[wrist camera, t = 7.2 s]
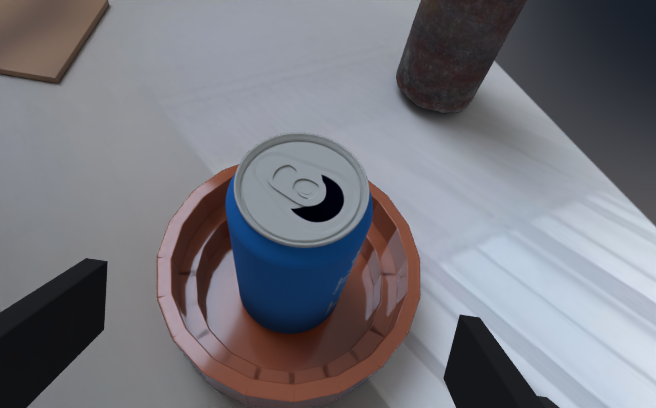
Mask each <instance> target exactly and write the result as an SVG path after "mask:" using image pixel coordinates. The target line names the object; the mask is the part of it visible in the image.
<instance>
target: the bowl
mask: <svg viewBox="0 0 656 408" xmlns="http://www.w3.org/2000/svg"><path fill="white" fill-rule="evenodd" d="M238 166H239V164H238V165H236V166H233V167H230V168H227V169H225V170H222V171H221V172H219V173H218V174H216V175H215V176H214V177H212V178H211V179H209V180H208V181H207V182H205V183H204V184H202V185H201V186H199V187H198V188H197V189H195V190H194V191H193V192H192V193H191V194H190V196H189V197H188V198H187V200H186V201H185V202H184V203H183V205H182V206H181V207H180V208H179V210H178V211H177V212H176V214H175V215H174V216H173V217H172V219H171V220H170V222H169V224H168V227H167V230H166V233H165V236H164V238H163V241H162V244H161V247H160V250H159V252H158V255H157V298H158V299H157V301H158V303H159V306H160V309H161V311H162V314H163V316H164V319H165V322H166V324H167V327H168V330H169V332H170V335H171V337H172V339H173V341H174V342H175V343H176V345H177V346H178V347H179V349H180V350H181V351H182V352H183V354H184V355H185V356H186V358H187V359H188V360H189V361H190V362H191V363H192V365H193V366H194V367H195V368H196V369H197V370H198V371H199V372H200V374H201V375H202V376H203V377H204V378H205V379H206V380H207V381H208V383H209V384H210V385H211V386H212V387H214V389H216V390H218V391H220V392H222V393H224V394H226V395H228V396H230V397H231V398H233V399H235V400H237V401H239V402H241V403H243V404H245V405H247V406H250V407H254V408H313V407H318V406H322V405H327V404H330V403H332V402H334V401H335V400H337V399H339V398H340V397H342V396H343V395H345V394H347V393H348V392H350V391H352V390H353V389H355V388H356V387H358V386H360V385H361V384H363V383H364V382H365V381H366V380H368V379H369V378H370V377H371V376H372V375H373V374H375V373H376V372H377V371H378V370H379V369H380V368H382V366H383V365H384V364H385V363H386V361H387V360H388V359H389V358H390V356H391V355H392V354H393V353H394V351H395V350H396V349H397V348H398V346H399V345H400V344H401V343H402V341H403V340H404V339H405V338H406V336H407V334H408V332H409V329H410V326H411V323H412V320H413V318H414V315H415V312H416V309H417V306H418V303H419V300H420V257H419V254H418V251H417V248H416V245H415V243H414V240H413V237H412V234H411V231H410V228H409V225H408V224H407V222H406V221H405V219H404V218H403V217H402V215H401V214H400V212H399V211H398V210H397V208H396V207H395V206H394V204H393V203H392V201H391V200H390V199H389V197H388V196H387V195H386V194H385V193H384V192H382V191H381V190H380V189H378V188H377V187H376V186H375V185H373V184H372V183H371V182H370V181H368V183H369V189H370V192H371V196H372V201H373V216H372V222H371V225H370V228H369V231H368V233H367V235H366V238H365V240H364V242H363V245H362V247H361V249H360V251H359V254H358V256H357V258H356V261H355V263H354V265H353V268H352V270H351V272H350V275H349V277H348V279H347V282H346V284H345V286H344V289H343V291H342V293H341V295H340V298H339V300H338V302H337V305H336V307H335V309H334V310H333V312H332V313H331V314H330V316H329V317H328V318H327V319H326V320H325V321H324V322H323V323H321V324H320V325H318V326H317V327H315V328H313V329H311V330H308V331H305V332H301V333H295V334H284V333H278V332H274V331H271V330H269V329H267V328H265V327H263V326H261V325H260V324H258V323H257V322H256V321H255V320H254V319H253V318H252V317H251V316H250V315H249V314H248V312H247V311H246V309H245V308H244V306H243V303H242V301H241V298H240V293H239V287H238V281H237V275H236V269H235V263H234V257H233V251H232V245H231V239H230V233H229V227H228V221H227V215H226V194H227V190H228V187H229V184H230V181H231V179H232V177H233V175H234V174H235V173H236V171H237V168H238Z"/></svg>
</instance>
